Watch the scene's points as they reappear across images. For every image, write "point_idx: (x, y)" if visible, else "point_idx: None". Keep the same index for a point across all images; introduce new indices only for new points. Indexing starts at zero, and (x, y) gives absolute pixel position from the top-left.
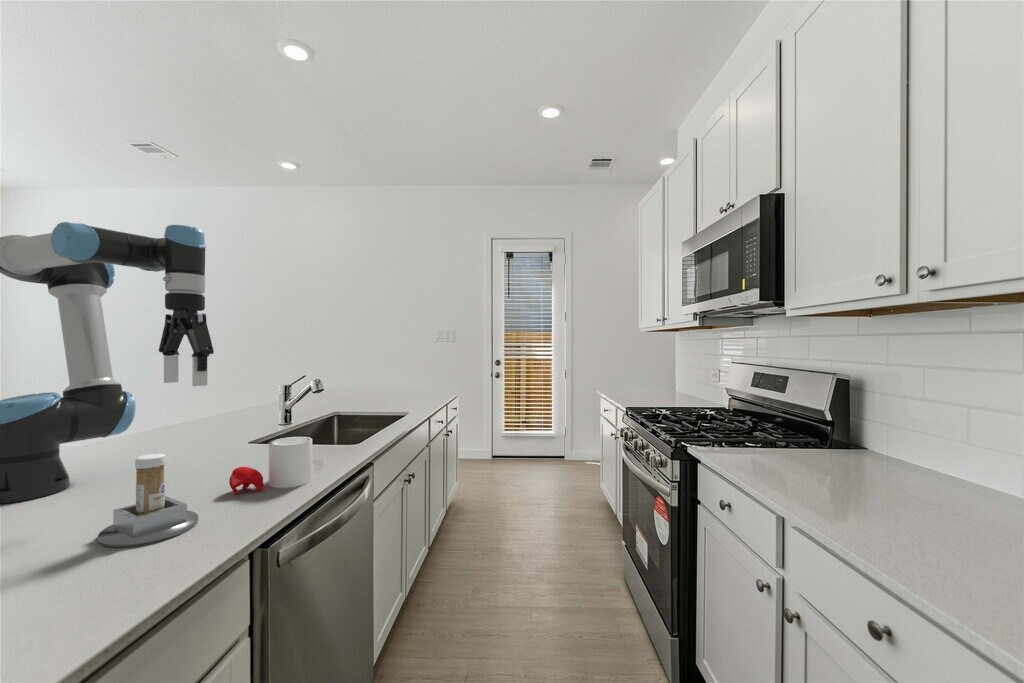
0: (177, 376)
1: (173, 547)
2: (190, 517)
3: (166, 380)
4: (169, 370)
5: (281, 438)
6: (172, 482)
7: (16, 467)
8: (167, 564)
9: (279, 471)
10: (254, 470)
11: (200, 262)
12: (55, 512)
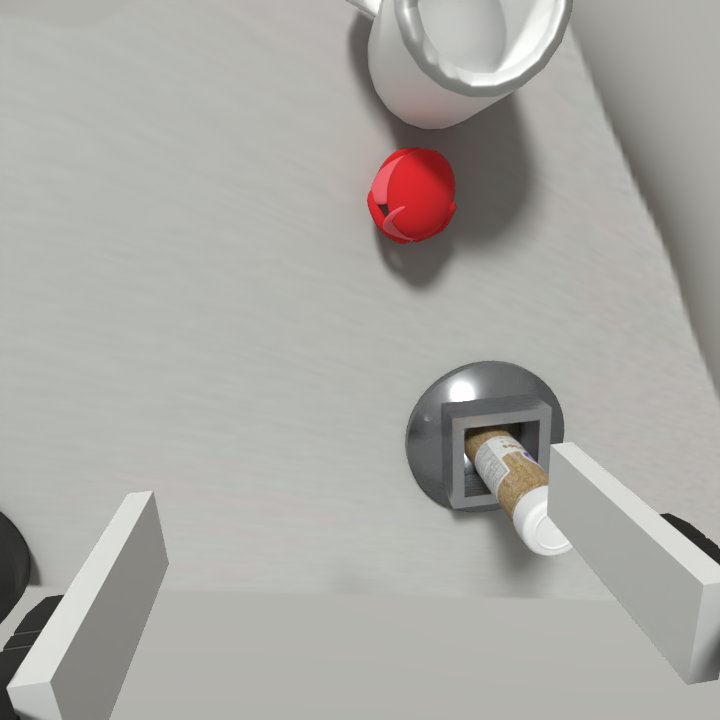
0: (139, 522)
1: (602, 434)
2: (516, 380)
3: (163, 569)
4: (135, 612)
5: None
6: (128, 297)
7: None
8: (656, 457)
9: (482, 109)
10: (438, 176)
11: None
12: (194, 531)
